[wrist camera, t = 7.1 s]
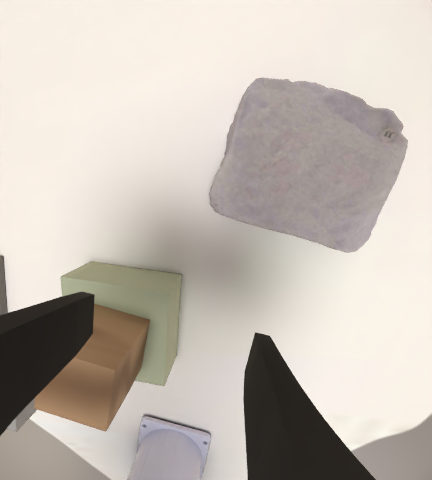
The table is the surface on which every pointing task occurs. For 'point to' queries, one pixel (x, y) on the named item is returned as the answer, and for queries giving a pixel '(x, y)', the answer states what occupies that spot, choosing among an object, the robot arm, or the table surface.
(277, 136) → the stone block
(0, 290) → the card
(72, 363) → the walnut block
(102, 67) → the table surface
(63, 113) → the table surface
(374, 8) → the table surface
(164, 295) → the sage block
